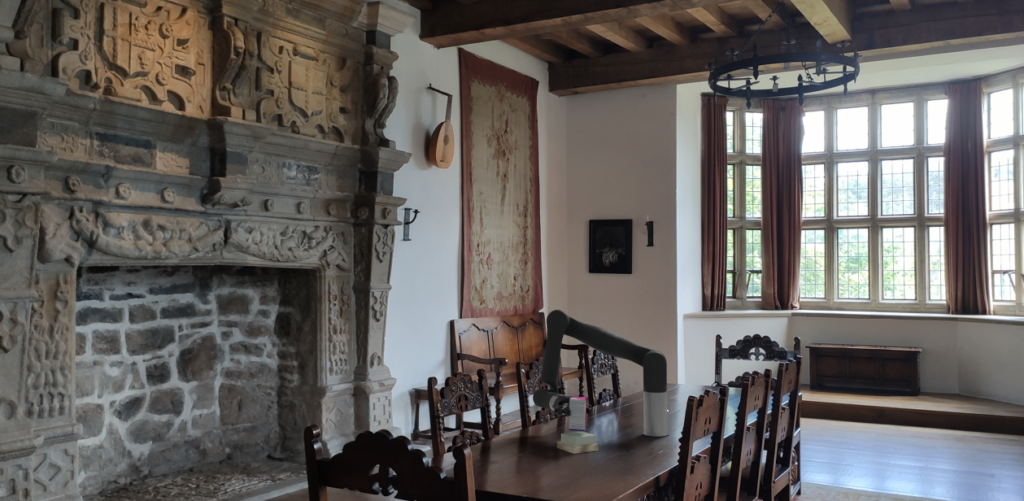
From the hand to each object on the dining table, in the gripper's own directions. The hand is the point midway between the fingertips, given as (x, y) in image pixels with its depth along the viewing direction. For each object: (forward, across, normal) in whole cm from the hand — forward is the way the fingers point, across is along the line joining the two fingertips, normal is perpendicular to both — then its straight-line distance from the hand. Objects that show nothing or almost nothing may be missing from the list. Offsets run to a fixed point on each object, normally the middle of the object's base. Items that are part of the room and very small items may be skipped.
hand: (580, 412), depth 280 cm
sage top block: (-2, 0, +11) cm, 12 cm away
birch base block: (-2, 0, +14) cm, 15 cm away
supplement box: (-2, 0, +7) cm, 7 cm away
